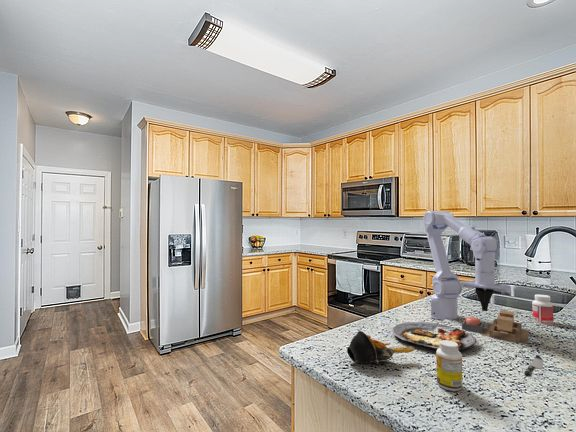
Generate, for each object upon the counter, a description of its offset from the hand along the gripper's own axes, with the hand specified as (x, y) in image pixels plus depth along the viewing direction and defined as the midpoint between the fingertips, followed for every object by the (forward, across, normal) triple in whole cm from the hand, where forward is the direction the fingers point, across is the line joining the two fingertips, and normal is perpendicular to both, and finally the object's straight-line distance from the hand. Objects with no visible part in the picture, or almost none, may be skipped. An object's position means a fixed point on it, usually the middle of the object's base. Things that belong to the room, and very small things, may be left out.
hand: (484, 310), depth 109 cm
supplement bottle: (+8, -2, -45) cm, 46 cm away
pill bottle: (+8, +16, +25) cm, 31 cm away
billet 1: (+7, +6, +7) cm, 12 cm away
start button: (+7, -4, +1) cm, 8 cm away
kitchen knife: (+9, +14, -18) cm, 25 cm away
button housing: (+8, -4, 0) cm, 9 cm away
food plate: (+9, -13, -16) cm, 23 cm away
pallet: (+8, +6, +3) cm, 11 cm away
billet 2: (+7, +6, -1) cm, 9 cm away
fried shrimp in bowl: (+8, -20, -43) cm, 48 cm away
